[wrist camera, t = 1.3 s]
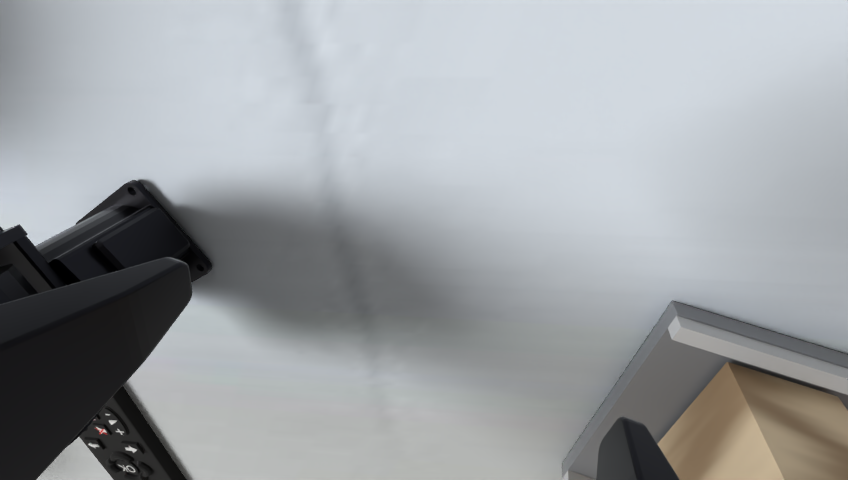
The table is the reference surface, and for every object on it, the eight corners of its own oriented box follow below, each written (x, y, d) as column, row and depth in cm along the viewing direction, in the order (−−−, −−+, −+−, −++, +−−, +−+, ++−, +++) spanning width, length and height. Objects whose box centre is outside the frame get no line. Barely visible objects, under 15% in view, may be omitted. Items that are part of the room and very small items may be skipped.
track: (561, 463, 29) (564, 537, 25) (672, 300, 21) (700, 370, 17) (766, 533, 28) (802, 622, 24) (958, 388, 20) (1054, 483, 16)
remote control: (170, 523, 49) (157, 542, 47) (-15, 280, 34) (-44, 296, 32) (229, 532, 46) (217, 553, 45) (59, 278, 32) (32, 294, 30)
